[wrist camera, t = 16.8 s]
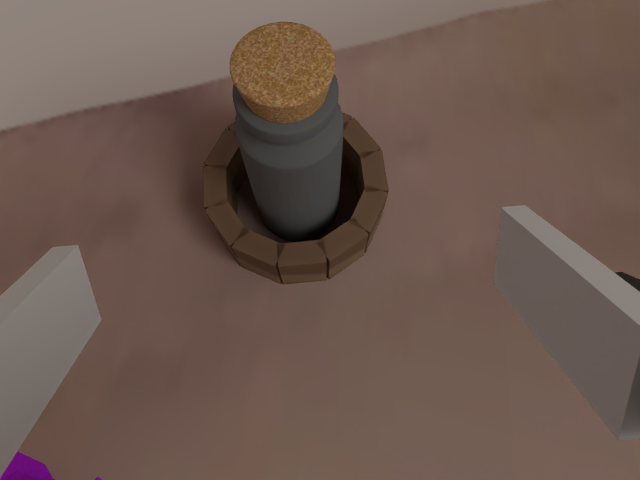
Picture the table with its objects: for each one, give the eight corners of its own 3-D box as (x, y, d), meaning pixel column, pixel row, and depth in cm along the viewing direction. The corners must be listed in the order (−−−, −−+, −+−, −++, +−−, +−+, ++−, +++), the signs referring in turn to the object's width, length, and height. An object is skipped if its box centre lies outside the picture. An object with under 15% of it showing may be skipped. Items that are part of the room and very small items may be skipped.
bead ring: (367, 128, 37) (372, 95, 34) (390, 274, 33) (399, 255, 29) (214, 141, 37) (202, 110, 33) (218, 290, 33) (204, 273, 29)
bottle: (354, 197, 35) (374, 50, 21) (305, 257, 34) (292, 140, 20) (292, 156, 36) (272, -9, 22) (242, 212, 35) (188, 71, 21)
